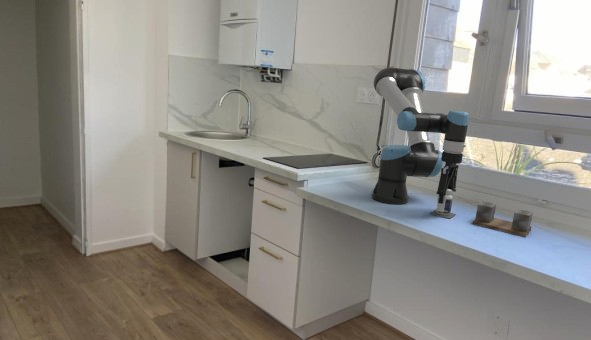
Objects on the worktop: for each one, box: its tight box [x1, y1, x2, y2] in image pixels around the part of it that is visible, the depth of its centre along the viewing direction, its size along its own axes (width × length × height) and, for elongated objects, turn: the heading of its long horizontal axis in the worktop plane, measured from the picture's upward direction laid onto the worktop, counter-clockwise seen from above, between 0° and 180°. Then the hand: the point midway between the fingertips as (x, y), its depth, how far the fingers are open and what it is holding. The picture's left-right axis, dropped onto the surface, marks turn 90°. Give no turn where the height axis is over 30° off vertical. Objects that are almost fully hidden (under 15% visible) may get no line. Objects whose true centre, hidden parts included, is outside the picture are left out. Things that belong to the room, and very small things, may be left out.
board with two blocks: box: [472, 200, 534, 238], centre depth 161 cm, size 18×12×7 cm, turn 54°
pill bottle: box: [436, 189, 454, 215], centre depth 170 cm, size 5×5×10 cm
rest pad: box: [429, 209, 457, 220], centre depth 171 cm, size 8×8×1 cm
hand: (443, 208), depth 171 cm, fingers open, 8 cm apart
